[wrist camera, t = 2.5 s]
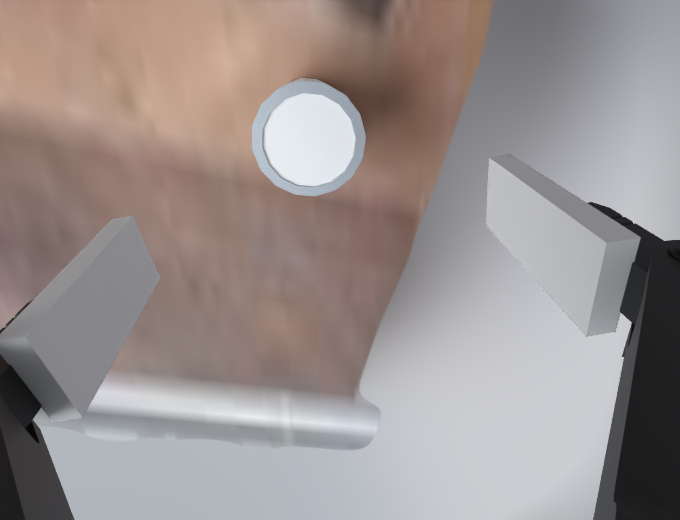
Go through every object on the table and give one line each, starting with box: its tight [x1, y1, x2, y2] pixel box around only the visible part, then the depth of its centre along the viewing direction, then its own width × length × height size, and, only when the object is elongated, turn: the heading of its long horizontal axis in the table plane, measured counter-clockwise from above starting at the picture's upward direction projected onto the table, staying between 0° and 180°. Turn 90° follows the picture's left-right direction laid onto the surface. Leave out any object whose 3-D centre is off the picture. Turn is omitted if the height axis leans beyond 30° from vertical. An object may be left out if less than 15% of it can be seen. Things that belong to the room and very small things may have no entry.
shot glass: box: [252, 78, 366, 196], centre depth 27 cm, size 7×7×7 cm
